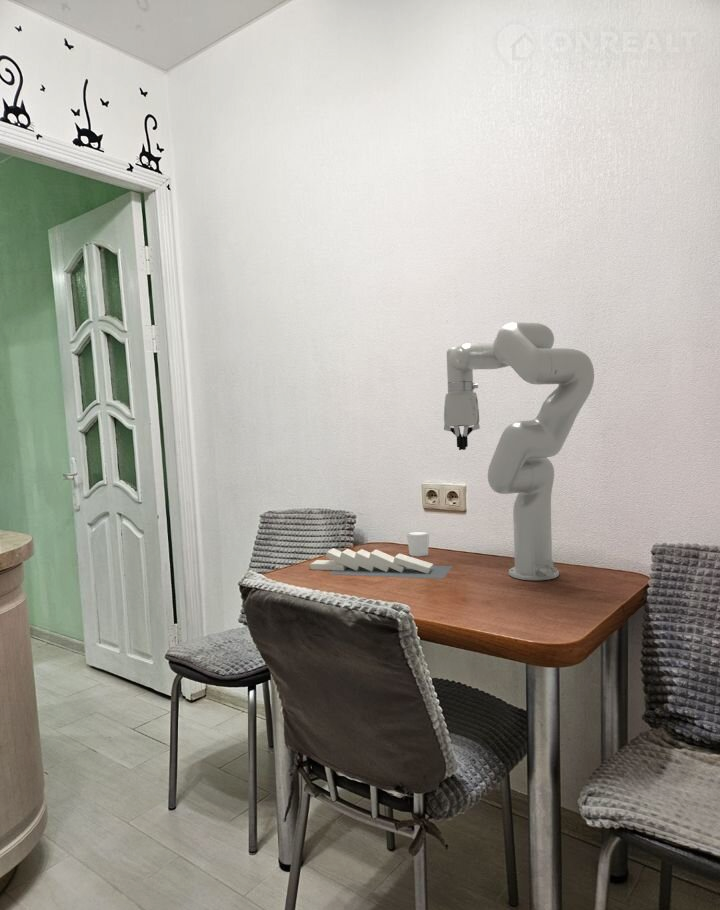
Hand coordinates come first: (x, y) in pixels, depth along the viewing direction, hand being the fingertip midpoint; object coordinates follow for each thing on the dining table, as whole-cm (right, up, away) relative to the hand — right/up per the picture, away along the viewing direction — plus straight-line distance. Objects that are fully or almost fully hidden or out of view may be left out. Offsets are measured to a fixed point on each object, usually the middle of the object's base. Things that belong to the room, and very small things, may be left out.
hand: (462, 449), depth 195 cm
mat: (-22, -34, -15) cm, 43 cm away
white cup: (-13, -33, +4) cm, 35 cm away
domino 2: (-31, -33, -12) cm, 47 cm away
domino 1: (-35, -33, -11) cm, 49 cm away
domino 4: (-22, -33, -15) cm, 43 cm away
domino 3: (-27, -33, -13) cm, 44 cm away
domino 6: (-12, -33, -19) cm, 39 cm away
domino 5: (-18, -33, -16) cm, 41 cm away
